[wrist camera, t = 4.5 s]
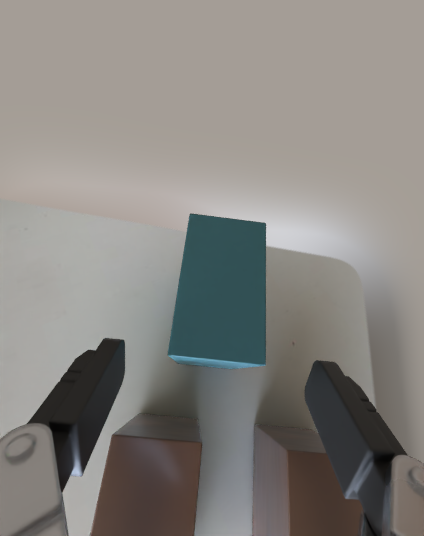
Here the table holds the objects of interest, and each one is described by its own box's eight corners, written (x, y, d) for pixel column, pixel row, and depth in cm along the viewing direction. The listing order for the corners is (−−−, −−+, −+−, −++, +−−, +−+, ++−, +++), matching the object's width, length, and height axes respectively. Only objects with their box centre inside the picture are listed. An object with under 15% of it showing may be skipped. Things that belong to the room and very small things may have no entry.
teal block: (237, 281, 24) (266, 222, 14) (232, 369, 20) (266, 365, 11) (189, 275, 23) (189, 213, 14) (177, 363, 20) (167, 355, 11)
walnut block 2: (312, 429, 19) (373, 457, 13) (321, 573, 16) (410, 708, 9) (254, 423, 19) (286, 449, 13) (251, 568, 16) (294, 703, 9)
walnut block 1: (198, 418, 19) (203, 442, 12) (184, 563, 16) (180, 697, 9) (138, 413, 19) (111, 434, 12) (111, 558, 15) (55, 690, 9)
